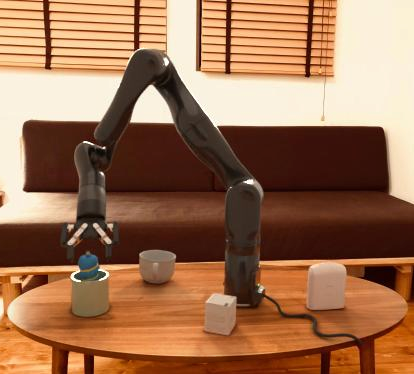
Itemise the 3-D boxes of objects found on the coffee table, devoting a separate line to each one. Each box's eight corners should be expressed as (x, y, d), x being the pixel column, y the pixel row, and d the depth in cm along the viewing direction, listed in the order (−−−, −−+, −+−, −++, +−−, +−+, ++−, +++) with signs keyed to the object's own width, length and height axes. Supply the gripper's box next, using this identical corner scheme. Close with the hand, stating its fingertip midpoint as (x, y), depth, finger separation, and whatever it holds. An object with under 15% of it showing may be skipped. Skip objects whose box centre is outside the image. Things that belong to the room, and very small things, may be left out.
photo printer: (309, 311, 121) (312, 266, 119) (303, 304, 125) (306, 260, 123) (346, 309, 123) (350, 265, 120) (339, 303, 127) (343, 259, 125)
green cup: (115, 304, 121) (115, 272, 120) (95, 319, 113) (95, 284, 111) (85, 299, 124) (85, 266, 122) (63, 312, 115) (62, 278, 114)
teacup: (145, 272, 145) (145, 247, 144) (179, 275, 144) (179, 250, 142) (130, 289, 131) (130, 262, 130) (168, 292, 130) (168, 265, 129)
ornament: (94, 311, 115) (93, 253, 113) (75, 309, 116) (73, 252, 114) (103, 303, 120) (102, 247, 118) (84, 301, 121) (83, 245, 119)
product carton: (212, 320, 114) (213, 292, 113) (235, 324, 112) (237, 296, 111) (203, 331, 108) (204, 302, 107) (228, 336, 106) (229, 306, 105)
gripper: (62, 197, 119) (57, 254, 110) (118, 197, 122) (118, 252, 113) (65, 213, 125) (60, 268, 116) (119, 212, 128) (118, 266, 119)
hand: (89, 260), depth 115 cm, fingers open, 8 cm apart
